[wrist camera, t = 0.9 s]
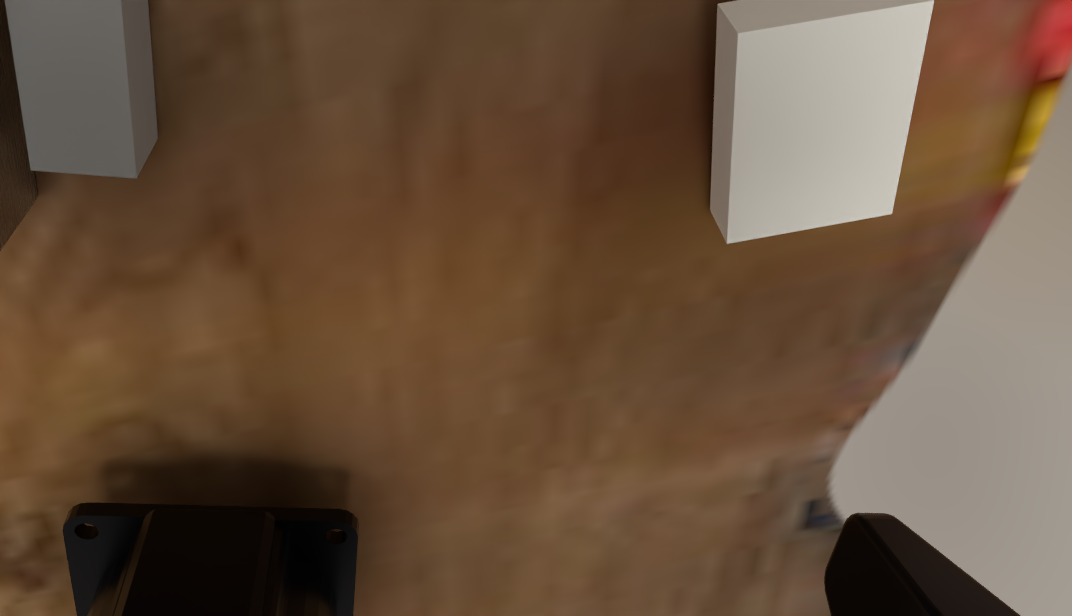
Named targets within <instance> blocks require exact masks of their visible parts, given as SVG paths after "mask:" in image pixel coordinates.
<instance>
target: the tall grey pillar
mask: <svg viewBox="0 0 1072 616" xmlns="http://www.w3.org/2000/svg"><path fill="white" fill-rule="evenodd" d="M5 5H6V12H7V18H8V25H9V31H10V38H11V44H12V51H13V58H14V64H15V71H16V77H17V84H18V91H19V97H20V104H21V110H22V117H23V123H24V130H25V137H26V143H27V150H28V156H29V163H30V169H31V170H32V171H45V172H58V173H70V174H83V175H96V176H109V177H121V178H134V179H137V177H138V175H139V173H140V171H141V170H142V168H143V166H144V164H145V162H146V160H147V158H148V156H149V154H150V153H151V151H152V149H153V147H154V145H155V143H156V141H157V139H158V131H157V117H156V103H155V90H154V76H153V62H152V49H151V35H150V21H149V7H148V0H5Z"/></svg>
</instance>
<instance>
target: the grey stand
mask: <svg viewBox="0 0 1072 616" xmlns="http://www.w3.org/2000/svg"><path fill="white" fill-rule="evenodd" d="M37 197H38V193H37V186H36V179H35V173H34V171H32V170H31V169H30V163H29V156H28V150H27V143H26V137H25V130H24V123H23V117H22V110H21V104H20V97H19V91H18V84H17V77H16V71H15V64H14V58H13V51H12V44H11V38H10V31H9V25H8V18H7V12H6V5H5V0H0V251H1V249H2V248H3V246H4V245H5V243H6V242H7V240H8V239H9V238H10V236H11V235H12V233H13V232H14V230H15V229H16V228H17V226H18V225H19V223H20V222H21V220H22V219H23V218H24V216H25V215H26V213H27V212H28V210H29V209H30V207H31V206H32V205H33V203H34V202H35V200H36V199H37Z"/></svg>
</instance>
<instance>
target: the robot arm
mask: <svg viewBox="0 0 1072 616" xmlns="http://www.w3.org/2000/svg"><path fill="white" fill-rule="evenodd" d="M84 523H87V524H92V525H93V527H92V526H87V525H85V524H84ZM358 525H359V524H358V520H357V518H356V517H355V516H354V514H352V513H350V512H348V511H346V510H341V509H320V508H281V507H242V506H203V505H164V504H125V503H81V504H78V505H76V506H74V507H73V508H72V509H71V510H70V511H69V513H68V515H67V518H66V520H65V523H64V526H63V535H64V541H65V547H66V553H67V559H68V564H69V570H70V576H71V582H72V588H73V594H74V600H75V606H76V612H77V616H353V607H354V591H355V574H356V558H357V542H358ZM332 529H340V530H343V531H339V532H335V531H331V530H332ZM824 584H825V592H826V597H827V601H828V605H829V609H830V613H831V616H1020V615H1019V614H1018V613H1016V612H1015V611H1014V610H1013V609H1011V608H1010V607H1009V606H1007V605H1006V604H1005V603H1004V602H1003V601H1001V600H1000V599H999V598H998V597H996V596H995V595H994V594H992V593H991V592H990V591H989V590H987V589H986V588H985V587H984V586H982V585H981V584H980V583H978V582H977V581H976V580H974V579H973V578H972V577H971V576H970V575H968V574H967V573H966V572H964V571H963V570H962V569H961V568H959V567H958V566H957V565H955V564H954V563H953V562H952V561H950V560H949V559H948V558H946V557H945V556H944V555H943V554H942V553H940V552H939V551H938V550H937V549H935V548H934V547H933V546H931V545H930V544H929V543H928V542H926V541H925V540H924V539H923V538H921V537H920V536H919V535H917V534H916V533H915V532H914V531H912V530H911V529H910V528H909V527H907V526H906V525H905V524H903V523H902V522H901V521H899V520H898V519H897V518H895V517H894V516H892V515H889V514H884V513H855V514H852V515H851V516H850V517H849V518H847V519H846V521H845V523H844V525H843V528H842V530H841V533H840V535H839V537H838V540H837V542H836V545H835V547H834V549H833V552H832V554H831V557H830V559H829V561H828V564H827V567H826V570H825V577H824Z"/></svg>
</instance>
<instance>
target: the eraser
mask: <svg viewBox="0 0 1072 616" xmlns="http://www.w3.org/2000/svg"><path fill="white" fill-rule="evenodd" d="M933 4H934V0H737V1H731V2H725V3H719V4H717V31H716V58H715V85H714V113H713V140H712V167H711V194H710V211H711V213H712V215H713V217H714V219H715V221H716V223H717V225H718V227H719V229H720V231H721V233H722V235H723V237H724V239H725V241H726V243H727V244H730V243H735V242H741V241H746V240H752V239H757V238H763V237H768V236H774V235H779V234H785V233H790V232H796V231H801V230H807V229H812V228H818V227H823V226H829V225H834V224H840V223H845V222H851V221H856V220H862V219H867V218H873V217H878V216H884V215H889V214H892V211H893V206H894V201H895V196H896V191H897V186H898V181H899V176H900V171H901V166H902V161H903V156H904V151H905V146H906V141H907V136H908V131H909V126H910V121H911V115H912V110H913V105H914V100H915V95H916V90H917V85H918V80H919V75H920V70H921V65H922V60H923V55H924V50H925V45H926V40H927V35H928V30H929V25H930V20H931V14H932V9H933Z"/></svg>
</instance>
